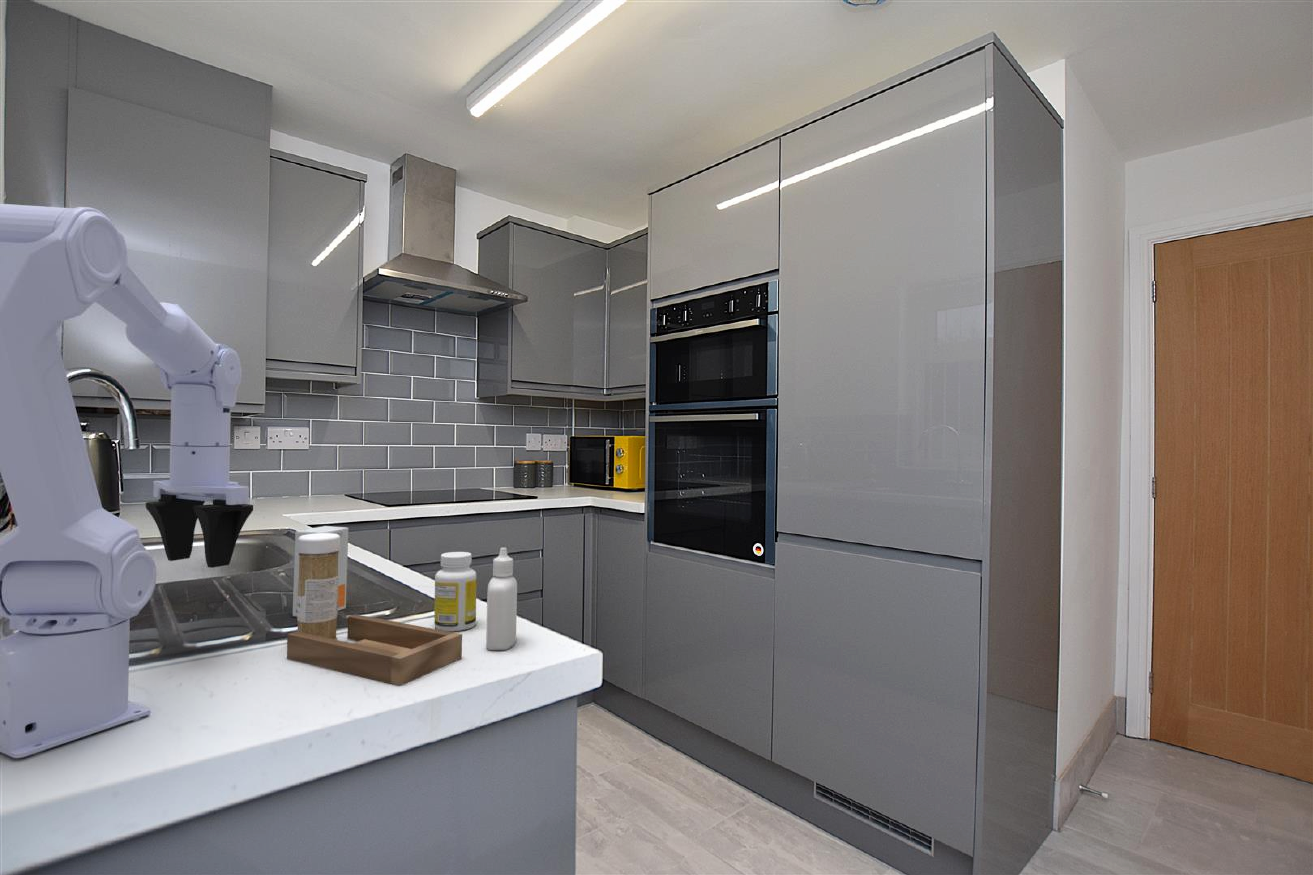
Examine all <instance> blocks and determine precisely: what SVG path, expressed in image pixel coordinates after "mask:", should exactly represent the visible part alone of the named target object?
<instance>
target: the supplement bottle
mask: <svg viewBox="0 0 1313 875" xmlns="http://www.w3.org/2000/svg"><path fill="white" fill-rule="evenodd" d="M472 562H473V560H472V553H471V552H467V551H449V552H444V553H442V554H441V555H440V566H441V568H442V569H440V570H438V571H437V572H436V573H435V576H434V627H435V628H436V629H437V630H442V631H448V632H459V631H460V632H461V631H465V630H469V629H472V628H473V627H474V626H475V625H476V623H477V572H476V571H475V570H474V569H473V568H470V565H472Z"/></svg>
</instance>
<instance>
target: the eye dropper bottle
mask: <svg viewBox="0 0 1313 875" xmlns="http://www.w3.org/2000/svg"><path fill="white" fill-rule="evenodd" d="M513 572H514V559H513V557H510V556H509V555H508V550H507V547H500V550H499V554H498V556H496V557H495V558H493V560H492V576H493V577H492V578H491V579H490V580H489V582H488V585H487V592H486V594H487V595H486V596H487V597H486V600H487V601H486V635H485V636H486V637H485V640H486V643H485V646H486V648H487V650H489V651H506V650H508V649H510V648H512V647H513V646H515V643H516V640H517V609H518V603H517V601H518V599H517V598H518V582H517V580H516V578H515V577H514V575H513V574H514V573H513ZM511 646H512V647H511Z"/></svg>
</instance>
